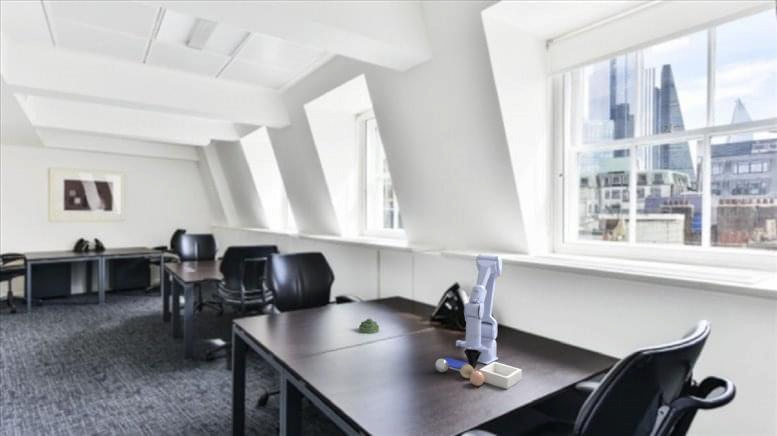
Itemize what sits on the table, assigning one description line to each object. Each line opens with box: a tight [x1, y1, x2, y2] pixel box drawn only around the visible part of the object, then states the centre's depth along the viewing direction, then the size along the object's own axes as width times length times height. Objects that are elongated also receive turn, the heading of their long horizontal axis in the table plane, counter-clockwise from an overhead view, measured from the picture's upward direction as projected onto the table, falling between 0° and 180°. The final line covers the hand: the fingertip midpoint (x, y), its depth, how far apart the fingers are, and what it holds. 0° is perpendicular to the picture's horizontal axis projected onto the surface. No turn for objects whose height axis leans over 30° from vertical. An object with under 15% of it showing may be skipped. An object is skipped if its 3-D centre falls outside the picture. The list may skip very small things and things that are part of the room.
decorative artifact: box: [358, 317, 380, 335], centre depth 212 cm, size 10×7×10 cm
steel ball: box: [434, 358, 449, 373], centre depth 160 cm, size 5×5×5 cm
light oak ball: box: [459, 364, 475, 379], centre depth 154 cm, size 5×5×5 cm
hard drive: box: [444, 356, 469, 372], centre depth 167 cm, size 2×8×12 cm
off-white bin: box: [478, 361, 523, 390], centre depth 153 cm, size 11×11×4 cm
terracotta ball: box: [469, 370, 485, 387], centre depth 148 cm, size 5×5×5 cm
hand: (472, 368), depth 161 cm, fingers closed
